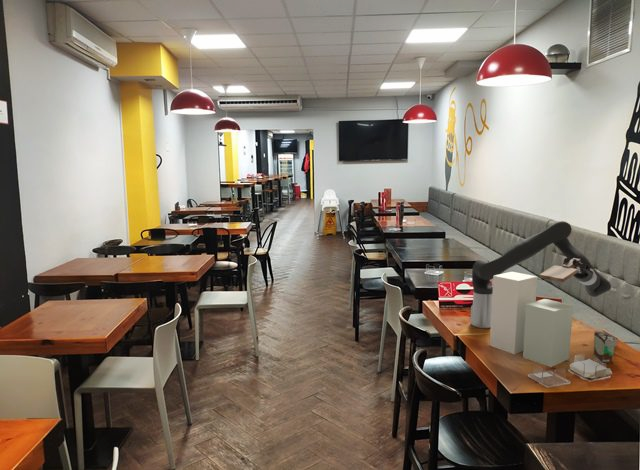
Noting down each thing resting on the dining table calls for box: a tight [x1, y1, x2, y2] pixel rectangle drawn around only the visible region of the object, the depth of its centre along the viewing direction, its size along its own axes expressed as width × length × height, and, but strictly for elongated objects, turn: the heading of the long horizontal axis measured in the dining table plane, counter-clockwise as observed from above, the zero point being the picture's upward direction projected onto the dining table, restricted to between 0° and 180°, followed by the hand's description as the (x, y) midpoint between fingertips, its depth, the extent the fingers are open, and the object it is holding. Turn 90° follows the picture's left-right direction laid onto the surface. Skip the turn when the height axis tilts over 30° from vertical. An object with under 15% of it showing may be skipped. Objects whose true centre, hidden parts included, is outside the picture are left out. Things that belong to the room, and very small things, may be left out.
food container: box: [593, 330, 618, 365], centre depth 192 cm, size 12×6×10 cm, turn 168°
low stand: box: [522, 298, 574, 368], centre depth 192 cm, size 12×14×23 cm
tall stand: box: [489, 271, 538, 355], centre depth 204 cm, size 12×14×32 cm
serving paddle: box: [539, 258, 581, 283], centre depth 201 cm, size 10×22×2 cm, turn 126°
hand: (569, 260), depth 203 cm, fingers closed on serving paddle, 3 cm apart
